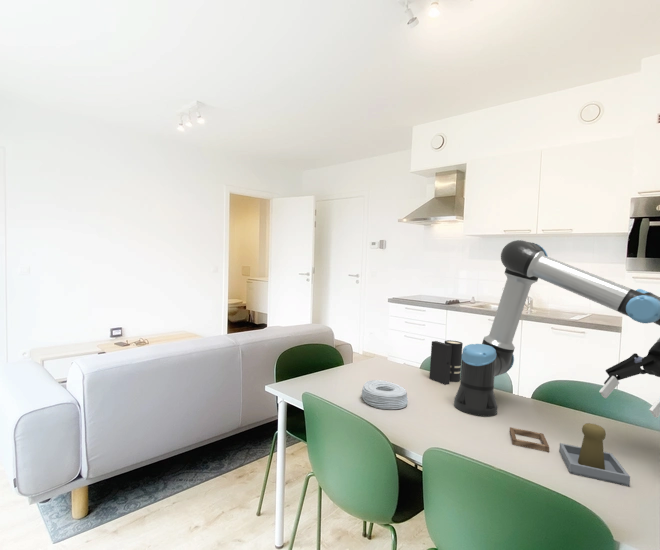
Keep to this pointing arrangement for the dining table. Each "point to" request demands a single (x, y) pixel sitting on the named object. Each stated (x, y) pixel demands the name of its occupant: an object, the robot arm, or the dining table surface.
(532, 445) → the socket holder
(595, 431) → the cork
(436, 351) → the light fixture
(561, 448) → the tray
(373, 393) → the cable
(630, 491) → the dining table surface
